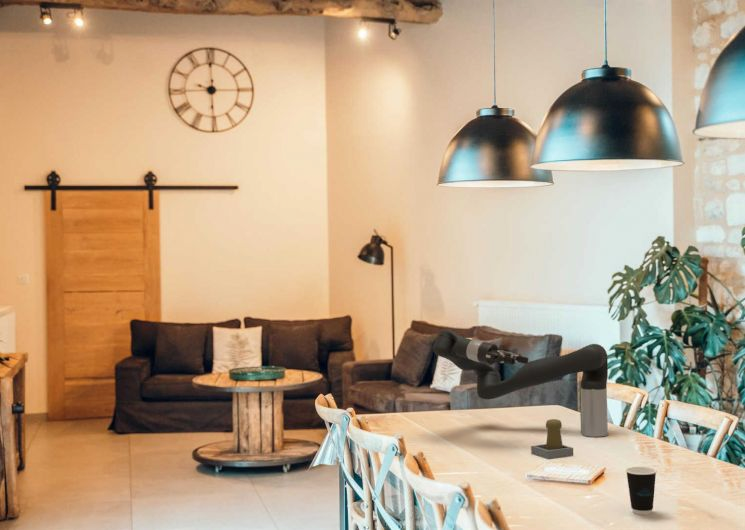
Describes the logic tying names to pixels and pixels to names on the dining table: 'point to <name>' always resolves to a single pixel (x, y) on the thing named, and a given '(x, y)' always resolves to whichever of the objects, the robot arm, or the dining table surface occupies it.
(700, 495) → the dining table surface
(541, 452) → the tray
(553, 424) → the olive game piece
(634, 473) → the dixie cup
